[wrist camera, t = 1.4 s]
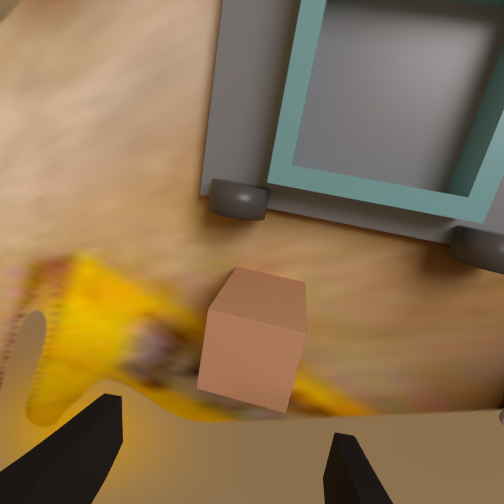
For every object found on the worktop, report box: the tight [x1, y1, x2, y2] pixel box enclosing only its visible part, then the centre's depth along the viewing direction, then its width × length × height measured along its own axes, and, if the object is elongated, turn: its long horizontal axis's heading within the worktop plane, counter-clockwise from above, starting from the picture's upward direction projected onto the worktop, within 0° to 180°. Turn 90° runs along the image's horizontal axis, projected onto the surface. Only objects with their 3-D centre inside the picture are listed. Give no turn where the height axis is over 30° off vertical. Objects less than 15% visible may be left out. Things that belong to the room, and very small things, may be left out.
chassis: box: [200, 0, 504, 274], centre depth 13 cm, size 18×14×3 cm
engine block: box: [197, 267, 307, 413], centre depth 16 cm, size 4×4×6 cm
